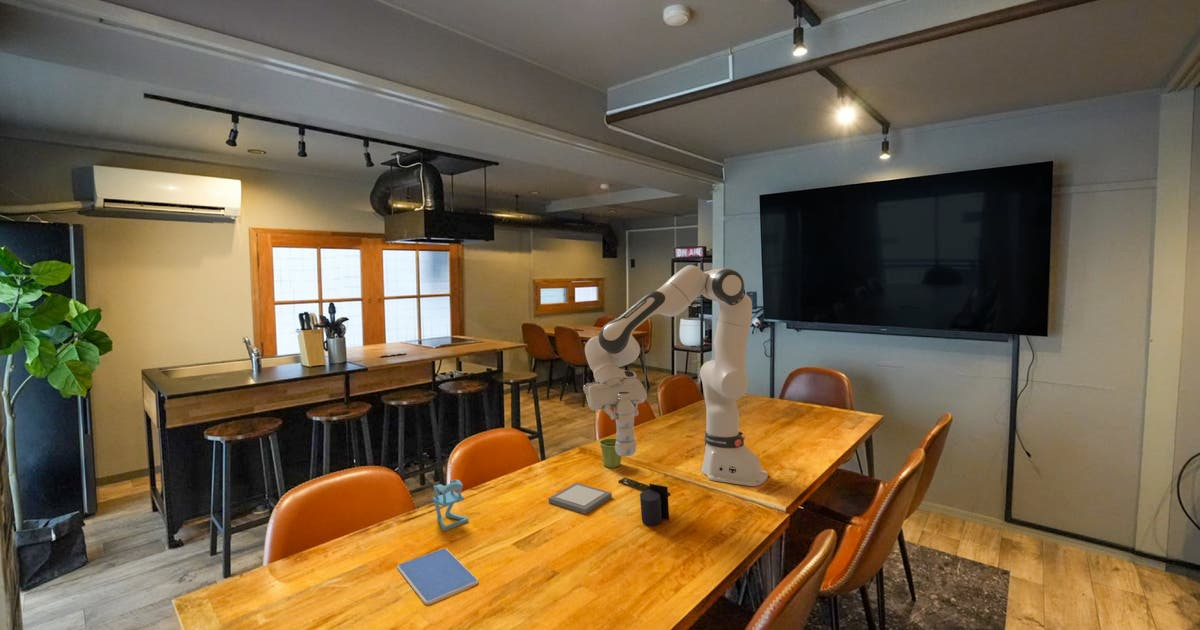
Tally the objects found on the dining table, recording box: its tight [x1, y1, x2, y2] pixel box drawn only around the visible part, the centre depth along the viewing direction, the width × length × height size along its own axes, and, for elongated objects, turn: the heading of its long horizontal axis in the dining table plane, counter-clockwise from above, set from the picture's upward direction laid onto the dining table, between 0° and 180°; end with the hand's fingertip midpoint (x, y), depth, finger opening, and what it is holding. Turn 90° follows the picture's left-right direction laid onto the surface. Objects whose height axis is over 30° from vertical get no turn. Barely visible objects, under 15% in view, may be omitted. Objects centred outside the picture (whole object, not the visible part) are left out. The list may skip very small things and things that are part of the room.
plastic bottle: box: [613, 392, 637, 457], centre depth 161 cm, size 6×7×20 cm
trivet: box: [548, 482, 613, 515], centre depth 160 cm, size 14×14×2 cm
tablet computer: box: [396, 548, 479, 606], centre depth 120 cm, size 19×13×1 cm, turn 40°
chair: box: [432, 479, 469, 531], centre depth 146 cm, size 8×8×12 cm
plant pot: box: [598, 437, 622, 469], centre depth 189 cm, size 9×9×9 cm
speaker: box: [639, 483, 670, 527], centre depth 145 cm, size 8×6×10 cm
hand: (625, 416), depth 160 cm, fingers closed on plastic bottle, 6 cm apart
